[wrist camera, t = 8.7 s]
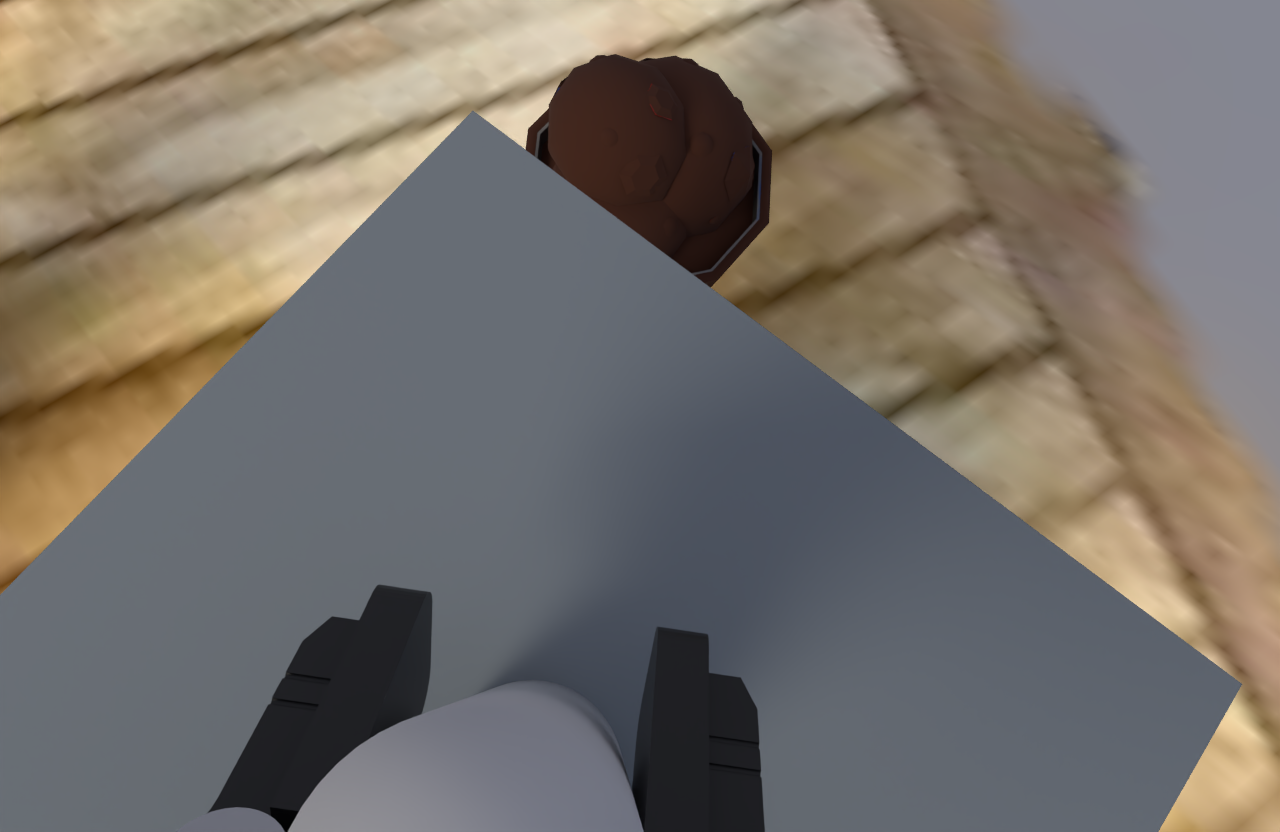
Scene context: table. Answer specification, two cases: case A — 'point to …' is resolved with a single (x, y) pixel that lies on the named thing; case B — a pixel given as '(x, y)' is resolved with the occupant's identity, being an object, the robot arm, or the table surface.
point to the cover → (572, 561)
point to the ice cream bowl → (661, 156)
